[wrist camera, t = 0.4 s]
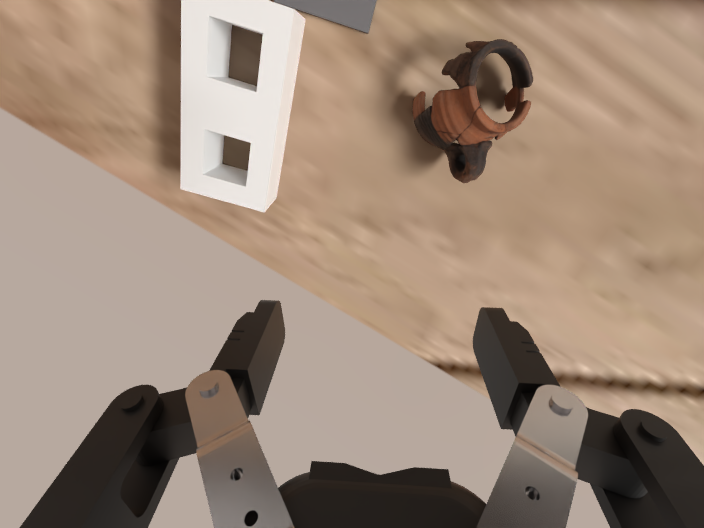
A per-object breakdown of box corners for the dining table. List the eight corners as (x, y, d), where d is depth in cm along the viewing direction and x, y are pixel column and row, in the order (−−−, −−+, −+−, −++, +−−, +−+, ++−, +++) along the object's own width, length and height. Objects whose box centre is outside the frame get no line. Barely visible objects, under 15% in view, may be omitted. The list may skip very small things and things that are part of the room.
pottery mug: (401, 67, 32) (455, 26, 24) (476, 65, 35) (545, 28, 27) (413, 189, 35) (465, 186, 27) (481, 177, 38) (545, 171, 30)
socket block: (209, -13, 29) (181, -29, 25) (305, 19, 30) (294, 9, 26) (202, 176, 38) (180, 189, 34) (276, 197, 39) (264, 212, 35)
